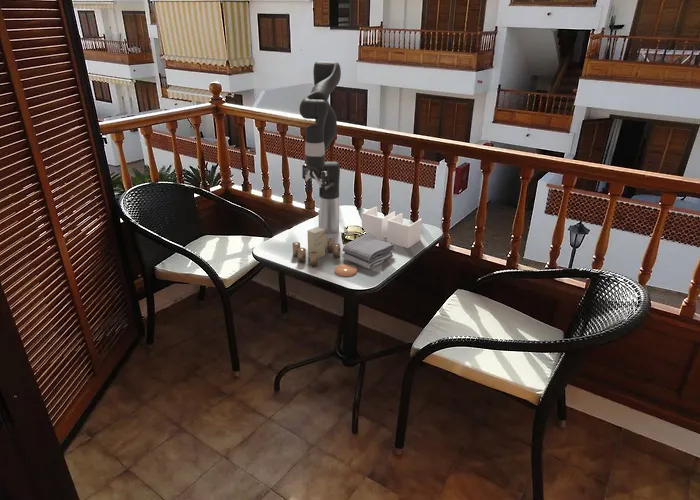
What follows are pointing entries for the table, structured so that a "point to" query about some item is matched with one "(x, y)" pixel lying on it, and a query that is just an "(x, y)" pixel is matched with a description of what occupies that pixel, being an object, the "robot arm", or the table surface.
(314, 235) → the skincare box
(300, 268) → the table surface
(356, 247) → the towel
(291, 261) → the table surface
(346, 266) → the tan oval piece
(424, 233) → the table surface
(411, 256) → the table surface
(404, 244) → the storage container
